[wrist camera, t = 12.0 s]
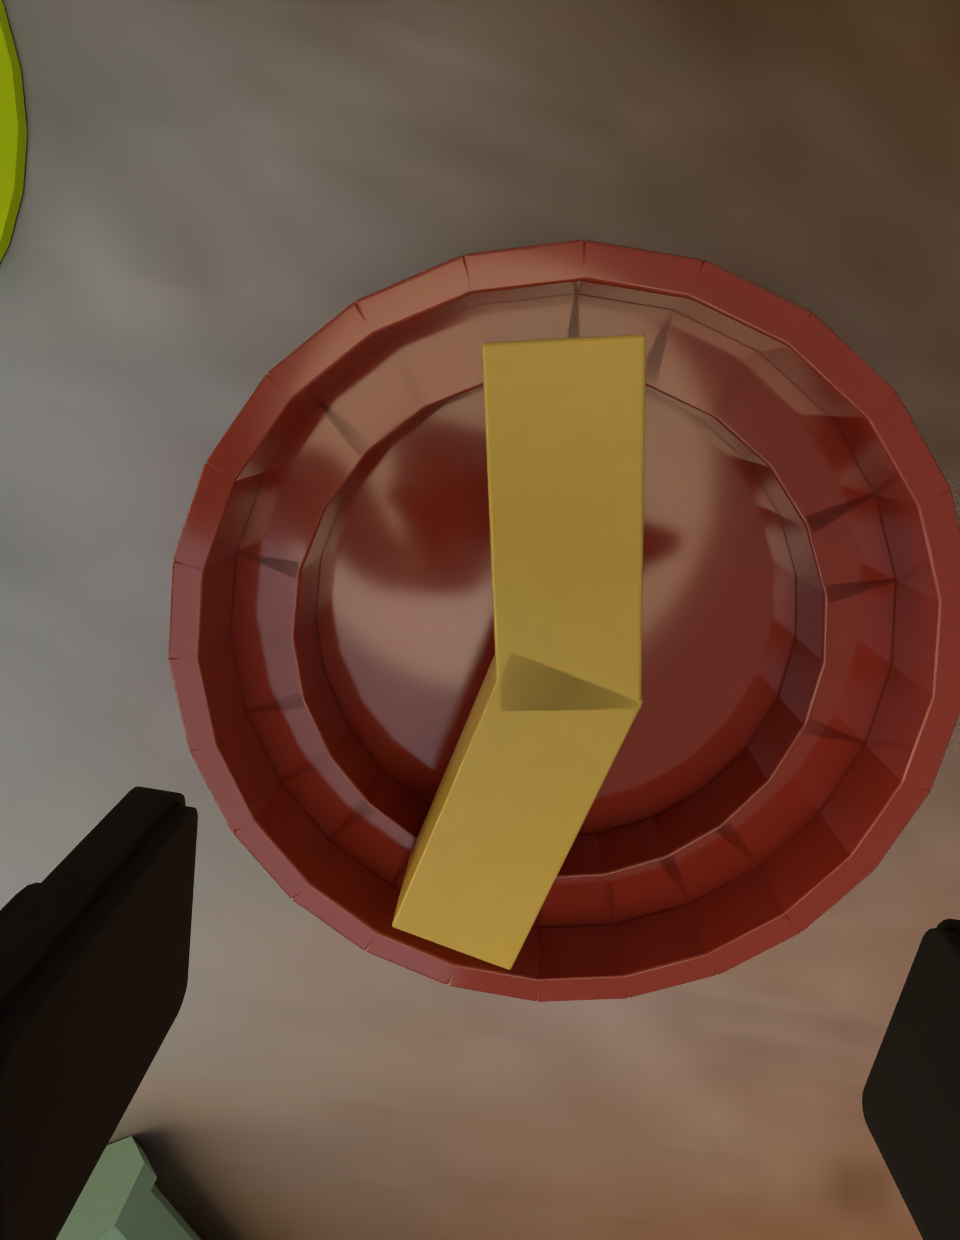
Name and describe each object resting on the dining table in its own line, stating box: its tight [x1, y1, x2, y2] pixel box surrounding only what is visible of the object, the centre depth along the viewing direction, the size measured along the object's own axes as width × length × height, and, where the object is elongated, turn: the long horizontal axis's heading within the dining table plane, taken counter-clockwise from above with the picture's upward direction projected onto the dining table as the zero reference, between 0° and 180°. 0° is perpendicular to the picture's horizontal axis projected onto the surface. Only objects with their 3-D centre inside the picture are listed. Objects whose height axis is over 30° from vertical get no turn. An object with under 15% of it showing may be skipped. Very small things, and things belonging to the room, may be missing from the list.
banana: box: [392, 334, 646, 970], centre depth 19 cm, size 5×16×3 cm, turn 171°
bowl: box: [169, 240, 960, 1002], centre depth 21 cm, size 20×20×5 cm
